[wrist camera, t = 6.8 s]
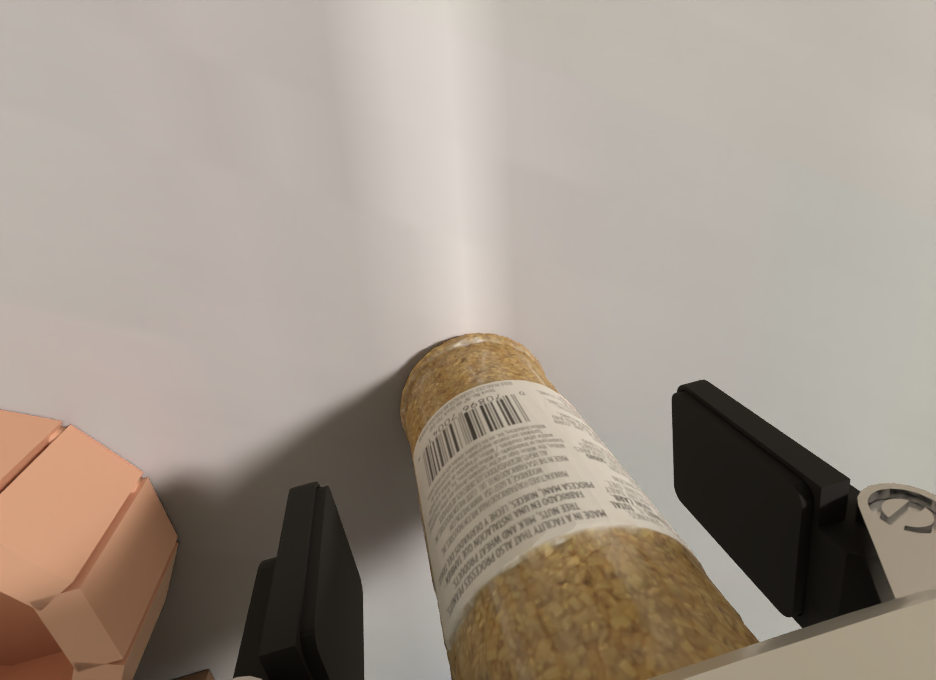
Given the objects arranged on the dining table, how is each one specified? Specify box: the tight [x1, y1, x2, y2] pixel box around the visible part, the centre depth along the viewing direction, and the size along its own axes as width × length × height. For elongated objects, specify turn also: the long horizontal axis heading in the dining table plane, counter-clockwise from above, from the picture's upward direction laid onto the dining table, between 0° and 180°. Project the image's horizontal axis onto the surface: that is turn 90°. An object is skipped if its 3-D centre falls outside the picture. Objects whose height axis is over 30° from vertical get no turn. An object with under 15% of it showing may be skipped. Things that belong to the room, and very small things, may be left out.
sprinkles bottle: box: [400, 333, 759, 680], centre depth 10 cm, size 5×5×14 cm
